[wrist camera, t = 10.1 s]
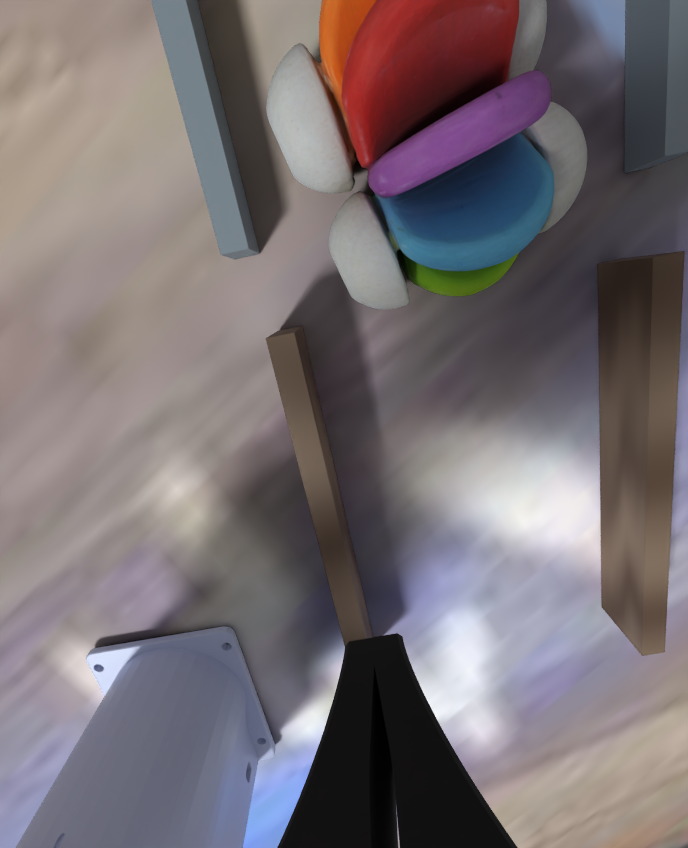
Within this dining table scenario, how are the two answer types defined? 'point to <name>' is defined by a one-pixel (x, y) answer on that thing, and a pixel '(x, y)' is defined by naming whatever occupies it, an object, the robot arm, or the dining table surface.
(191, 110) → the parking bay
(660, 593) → the lane rails
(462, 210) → the multicolored rounded disc cluster
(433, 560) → the dining table surface
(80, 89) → the dining table surface
